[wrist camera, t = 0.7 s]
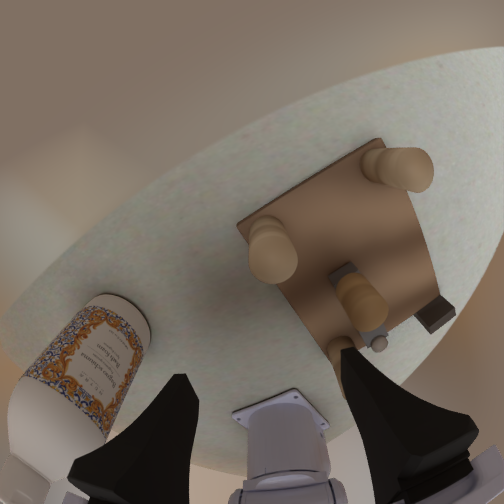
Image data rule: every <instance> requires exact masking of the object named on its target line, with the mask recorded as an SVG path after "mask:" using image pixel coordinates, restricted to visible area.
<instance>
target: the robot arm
mask: <svg viewBox="0 0 504 504" xmlns="http://www.w3.org/2000/svg"><path fill="white" fill-rule="evenodd" d="M340 353H341V383H342V387H343V391H344V394H345V398H346V400H347V403H348V405H349V407H350V410H351V412H352V415H353V417H354V420H355V422H356V424H357V427H358V429H359V432H360V434H361V437H362V440H363V444H364V448H365V452H366V456H367V460H368V465H369V469H370V474H371V479H372V484H373V490H374V497H375V504H487V503H488V502H490V501H491V500H492V499H494V498H495V497H496V496H497V495H499V494H500V493H501V492H502V491H504V459H503V457H502V455H501V454H500V452H499V450H498V448H497V447H496V445H493V446H491V447H490V448H489V449H487V450H486V451H484V452H483V453H481V454H480V455H478V456H477V457H476V458H474V459H473V460H472V461H471V462H470V461H469V459H468V457H469V456H470V453H469V451H468V450H467V449H468V448H469V446H470V445H471V444H472V443H473V441H474V440H475V439H476V437H477V435H478V433H479V429H478V428H477V426H476V425H475V423H474V421H473V420H472V419H471V418H470V416H469V415H465V414H462V413H458V412H453V411H449V410H447V409H444V408H441V407H438V406H436V405H433V404H431V403H429V402H427V401H424V400H422V399H420V398H418V397H416V396H414V395H413V394H411V393H409V392H407V391H406V390H404V389H403V388H401V387H400V386H398V385H397V384H396V383H394V382H393V381H392V380H390V379H389V378H388V377H386V376H385V375H384V374H383V373H381V372H380V371H379V370H378V369H377V368H376V367H374V366H373V365H372V364H371V363H370V362H369V361H368V360H367V359H366V358H365V357H364V356H363V355H362V354H361V353H360V352H359V351H358V350H357V349H356V348H355V347H349V348H345V349H341V350H340ZM198 415H199V399H198V397H197V395H196V393H195V391H194V389H193V387H192V385H191V383H190V381H189V379H188V377H187V375H186V373H185V374H174V375H173V376H172V377H171V379H170V380H169V381H168V382H167V384H166V385H165V386H164V388H163V389H162V390H161V391H160V393H159V394H158V395H157V396H156V398H155V399H154V400H153V401H152V402H151V404H150V405H149V406H148V407H147V408H146V409H145V410H144V411H143V413H142V414H141V415H140V416H139V417H138V418H137V419H136V420H135V421H134V422H133V423H132V424H131V425H130V426H128V427H127V428H126V429H125V430H124V431H123V432H121V433H120V434H119V435H118V436H116V437H115V438H113V439H112V440H110V441H109V442H108V443H106V444H104V445H103V446H101V447H99V448H98V449H96V450H94V451H92V452H90V453H88V454H86V455H83V456H81V457H79V458H76V459H75V460H74V462H73V464H72V466H71V469H70V471H69V473H68V476H67V478H68V481H69V482H70V483H72V484H73V485H74V486H75V487H77V488H78V489H80V490H81V491H82V492H84V493H85V494H87V495H88V496H90V499H89V501H88V500H86V499H84V498H82V497H80V496H77V495H75V494H73V493H70V492H66V495H65V498H64V500H63V503H62V504H189V471H190V459H191V452H192V447H193V442H194V437H195V433H196V427H197V422H198ZM232 418H233V419H234V420H236V421H237V422H238V423H240V424H241V425H242V426H244V427H245V428H246V429H248V462H247V480H244V481H243V489H236V490H235V492H234V493H233V494H231V496H230V498H229V501H228V504H348V500H347V496H346V492H345V489H344V486H343V484H342V483H341V482H340V481H338V480H337V479H335V478H331V479H328V477H329V474H330V470H331V465H330V460H329V455H328V451H327V446H326V441H325V437H324V432H323V430H325V429H328V428H329V427H330V424H329V423H328V422H327V421H326V420H325V419H324V418H323V417H322V416H321V415H320V414H319V413H318V412H317V410H316V409H315V408H314V407H313V406H312V405H311V404H310V403H309V402H308V401H307V400H306V399H305V398H304V397H303V396H302V395H301V394H300V392H299V391H298V390H295V389H293V390H290V391H288V392H285V393H283V394H281V395H278V396H276V397H274V398H271V399H269V400H266V401H264V402H261V403H259V404H256V405H253V406H251V407H248V408H245V409H243V410H240V411H237V412H234V413H232Z"/></svg>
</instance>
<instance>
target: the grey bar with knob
mask: <svg viewBox="0 0 504 504" xmlns="http://www.w3.org/2000/svg"><path fill="white" fill-rule="evenodd" d="M328 277H329V279H330V281H331V282H332V284H333V286H334V288H335V289H336V296H337V298H338V300H339V302H340V303H341V305H342V307H343V309H344V310H345V312H346V314H347V316H348V317H349V319H350V321H351V323H352V325H353V326H354V328H355V329H356V330H358V331H359V333H360V335H361V337H362V339H363V341H364V343H365V344H366V346H367V348H369V347H371V348H372V349H373V351H374V352H381V351H383V350H384V349H385V348H386V347H387V345H388V341H387V339H386V337H387V336H389V335H388V333H387V331H386V328H385V326H384V324H383V322H384V321H385V320H386V318H387V315H388V311H389V307H388V304H387V302H386V301H385V299H384V298H383V297H382V296H381V295H380V294H379V292H378V291H377V290H376V289H375V288H374V287H373V286H372V284H371V283H370V282H369V281H368V280H367V279H366V278H365V276H363V275H362V274H361V273H360V271H359V270H358V268H357V267H356V266H355V265H354V264H353V263H352V262H349V263H348V264H346V265H345V266H343V267H341V268H340V269H338V270H337V271H335V272H333V273H332V274H330V275H328Z"/></svg>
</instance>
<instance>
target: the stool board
mask: <svg viewBox="0 0 504 504" xmlns="http://www.w3.org/2000/svg"><path fill="white" fill-rule="evenodd" d="M433 175H434V168H433V163H432V160H431V158H430V157H429V155H428V154H427V153H426V152H425V151H424V150H422V149H420V148H386V146H385V144H384V142H383V140H382V139H381V138H375V139H373V140H372V141H370V142H368V143H366V144H365V145H363V146H361V147H359V148H358V149H356V150H354V151H353V152H351V153H349V154H348V155H346V156H344V157H343V158H341V159H339V160H338V161H336V162H334V163H333V164H331V165H329V166H328V167H326V168H324V169H323V170H321V171H319V172H318V173H316V174H314V175H313V176H311V177H309V178H308V179H306V180H305V181H303V182H301V183H300V184H298V185H297V186H295V187H293V188H292V189H290V190H289V191H287V192H285V193H284V194H282V195H281V196H279V197H277V198H276V199H274V200H273V201H271V202H269V203H268V204H266V205H265V206H263V207H262V208H260V209H259V210H257V211H255V212H254V213H252V214H251V215H249V216H248V217H246V218H245V219H243V220H242V221H240V222H238V223H237V226H236V227H237V229H238V230H239V231H240V233H241V234H242V236H243V237H244V239H245V240H246V241H247V243H248V244H249V268H250V270H251V272H252V274H253V275H254V277H256V278H257V279H258V280H260V281H261V282H264V283H267V284H276V285H277V286H278V287H279V289H280V290H281V292H282V293H283V295H284V296H285V298H286V299H287V300H288V302H289V303H290V305H291V306H292V308H293V309H294V310H295V312H296V313H297V315H298V316H299V318H300V319H301V321H302V322H303V323H304V325H305V326H306V328H307V329H308V331H309V332H310V334H311V335H312V336H313V338H314V339H315V341H316V342H317V344H318V345H319V347H320V348H321V349H322V351H323V352H324V354H325V355H326V357H327V358H328V360H329V361H330V362H331V364H332V366H333V368H334V371H335V374H336V377H337V380H338V383H339V386H340V389H341V392H342V395H343V397H344V399H345V400H346V398H345V394H344V391H343V387H342V383H341V353H340V350H341V349H345V348H349V347H355V348H356V349H357V350H359V349H361V348H362V347H364V346H366V344H365V343H364V341H363V339H362V337H361V335H360V333H359V331H358V330H356V329H355V328H354V326H353V325H352V323H351V321H350V319H349V317H348V316H347V314H346V312H345V310H344V309H343V307H342V305H341V303H340V302H339V300H338V298H337V296H336V289H335V288H334V286H333V284H332V282H331V281H330V279H329V277H328V275H330V274H332V273H333V272H335V271H337V270H338V269H340V268H341V267H343V266H345V265H346V264H348V263H349V262H352V263H353V264H354V265H355V266H356V267H357V268H358V270H359V271H360V273H361V274H362V275H363V276H365V278H366V279H367V280H368V281H369V282H370V283H371V284H372V286H373V287H374V288H375V289H376V290H377V291H378V292H379V294H380V295H381V296H382V297H383V298H384V299H385V301H386V302H387V304H388V307H389V311H388V315H387V318H386V320H385V321H384V322H383V324H384V326H385V328H386V331H387V332H388V331H390V330H391V329H393V328H394V327H396V326H397V325H399V324H400V323H402V322H403V321H405V320H406V319H408V318H409V317H411V316H412V315H414V316H415V317H416V318H417V319H418V321H419V322H420V323H421V324H422V325H423V326H424V327H425V328H426V330H427V331H428V332H429V333H430V334H432V333H434V332H435V331H436V330H438V329H439V328H440V327H441V326H443V325H444V324H445V323H447V322H448V321H449V320H450V319H452V318H453V317H454V316H455V315H456V313H455V307H454V306H453V305H451V304H450V303H449V302H448V301H447V300H446V299H445V298H444V297H442V296H441V295H440V292H439V288H438V284H437V280H436V276H435V272H434V269H433V265H432V261H431V258H430V255H429V251H428V248H427V245H426V242H425V239H424V236H423V233H422V230H421V227H420V224H419V222H418V219H417V216H416V213H415V211H414V208H413V206H412V203H411V201H410V198H409V196H408V193H407V191H411V192H415V193H420V192H423V191H425V190H426V189H427V188H428V187H429V186H430V184H431V183H432V180H433ZM406 190H407V191H406Z"/></svg>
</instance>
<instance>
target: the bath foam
mask: <svg viewBox="0 0 504 504" xmlns="http://www.w3.org/2000/svg"><path fill="white" fill-rule="evenodd" d="M149 344H150V331H149V327H148V324H147V322H146V320H145V318H144V317H143V315H142V314H141V313H140V312H139V311H138V309H137V308H136V307H134V306H133V305H132V304H131V303H129V302H128V301H126V300H124V299H123V298H120V297H118V296H114V295H108V294H105V295H99V296H96V297H94V298H93V299H92V300H91V301H89V302H88V303H87V304H86V305H85V306H84V307H83V308H82V310H80V311H79V312H78V313H77V314H76V315H75V316H74V317H73V318H72V320H71V321H70V322H69V323H68V324H67V325H66V326H65V327H64V328H63V329H62V330H61V331H60V332H59V334H58V335H57V336H56V337H55V338H54V339H53V340H52V341H51V342H50V344H49V345H48V346H47V347H46V348H45V349H44V350H43V351H42V353H41V354H40V355H39V356H38V357H37V358H36V360H35V361H34V362H33V363H32V364H31V366H30V367H29V368H28V369H27V370H26V372H25V373H24V374H23V376H22V377H21V378H20V379H19V381H18V383H17V385H16V387H15V388H14V390H13V393H12V395H11V398H10V402H9V407H8V432H9V433H8V434H9V444H10V451H11V452H10V455H9V457H8V458H7V460H6V462H5V464H4V465H3V467H2V469H1V471H0V501H1V502H3V503H4V504H44V501H45V499H46V496H47V494H48V491H49V489H50V484H52V482H55V481H58V480H60V479H63V478H65V477H67V476H68V473H69V471H70V469H71V466H72V464H73V462H74V460H75V459H76V458H79V457H81V456H83V455H86V454H88V453H90V452H92V451H94V450H96V449H98V448H99V447H101V446H103V445H104V444H105V442H106V440H107V437H108V435H109V433H110V430H111V428H112V426H113V423H114V421H115V419H116V416H117V414H118V412H119V410H120V407H121V405H122V403H123V401H124V398H125V396H126V394H127V392H128V390H129V387H130V385H131V383H132V381H133V379H134V377H135V375H136V372H137V370H138V368H139V366H140V364H141V362H142V360H143V357H144V355H145V353H146V351H147V349H148V347H149Z"/></svg>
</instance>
